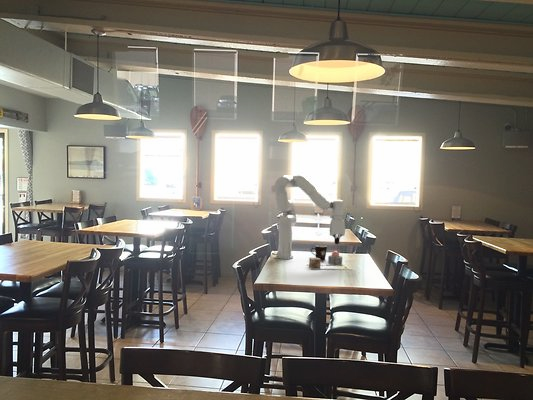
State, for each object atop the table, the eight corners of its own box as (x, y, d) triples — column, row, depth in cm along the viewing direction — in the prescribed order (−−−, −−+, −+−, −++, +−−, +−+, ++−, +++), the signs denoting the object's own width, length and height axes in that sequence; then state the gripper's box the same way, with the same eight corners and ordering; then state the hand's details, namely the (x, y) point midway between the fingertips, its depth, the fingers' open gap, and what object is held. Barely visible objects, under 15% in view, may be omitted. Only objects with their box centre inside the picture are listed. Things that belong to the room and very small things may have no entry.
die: (311, 268, 286) (312, 258, 286) (309, 266, 293) (309, 257, 292) (320, 268, 287) (320, 259, 287) (317, 266, 294) (318, 257, 293)
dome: (332, 259, 304) (333, 251, 304) (330, 258, 309) (331, 250, 309) (339, 259, 305) (340, 251, 305) (337, 258, 310) (337, 250, 310)
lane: (311, 269, 282) (311, 269, 282) (305, 264, 297) (305, 264, 297) (351, 269, 287) (351, 269, 287) (343, 265, 301) (343, 264, 301)
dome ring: (330, 264, 302) (331, 257, 302) (326, 262, 311) (327, 255, 311) (343, 264, 303) (343, 257, 303) (339, 262, 312) (339, 255, 312)
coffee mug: (326, 259, 323) (326, 245, 323) (326, 261, 315) (327, 247, 314) (310, 258, 324) (311, 244, 324) (310, 260, 316) (311, 246, 315)
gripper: (328, 218, 301) (328, 244, 301) (349, 218, 303) (348, 244, 304) (325, 217, 308) (324, 243, 309) (345, 217, 311) (345, 243, 311)
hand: (336, 243), depth 306 cm, fingers closed
